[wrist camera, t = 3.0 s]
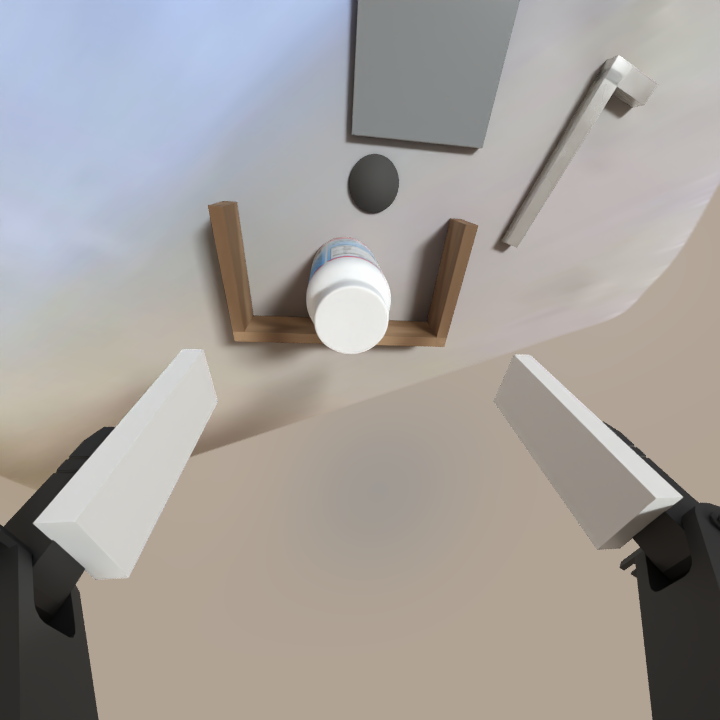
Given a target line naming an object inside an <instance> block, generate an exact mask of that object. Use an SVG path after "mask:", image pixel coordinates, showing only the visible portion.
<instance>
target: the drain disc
mask: <svg viewBox="0 0 720 720" xmlns="http://www.w3.org/2000/svg"><path fill="white" fill-rule="evenodd" d="M398 187H399V178H398V173H397V170H396V168H395V166H394V165H393V163H392V162H391V161H390V160H389V159H388V158H386V157H384V156H382V155H379V154H371V155H367V156H365V157H363V158H362V159H360V160H359V161H358V162H357V163H356V165H355V166H354V168H353V170H352V172H351V175H350V181H349V188H350V193H351V196H352V198H353V200H354V202H355V203H356V205H357V206H358V207H359V208H361V209H362V210H364V211H366V212H371V213H376V212H380V211H383V210H385V209H386V208H387V207H389V206H390V205H391V204H392V202H393V201H394V199H395V197H396V195H397V192H398Z"/></svg>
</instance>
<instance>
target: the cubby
mask: <svg viewBox="0 0 720 720" xmlns="http://www.w3.org/2000/svg"><path fill="white" fill-rule="evenodd" d="M208 209H209V214H210V219H211V224H212V229H213V234H214V239H215V244H216V249H217V254H218V259H219V265H220V270H221V275H222V280H223V285H224V290H225V295H226V300H227V305H228V310H229V315H230V320H231V325H232V331H233V336H234V341H243V342H281V343H319V344H324V343H323V342H322V341H321V340H320V338H319V337H318V335H317V333H316V330H315V326H314V323H313V322H312V320H311V318H310V317H282V316H254V315H253V309H252V302H251V295H250V288H249V281H248V275H247V268H246V261H245V254H244V247H243V240H242V233H241V227H240V220H239V213H238V206H237V202H230V201H222V202H219V203H215V204H211V205H208ZM477 228H478V225H475V224H473V223H470V222H467V221H465V220H462V219H451V218H450V223H449V227H448V231H447V236H446V240H445V245H444V249H443V253H442V258H441V262H440V266H439V271H438V275H437V280H436V284H435V288H434V293H433V297H432V301H431V306H430V310H429V314H428V319H427V322H421V321H393V320H389V321H388V327H387V330H386V332H385V334H384V336H383V337H382V339H381V340H380V341H379V342H378V343H377V344H376V345H395V346H433V347H444V346H445V342H446V338H447V335H448V331H449V328H450V324H451V321H452V317H453V314H454V310H455V306H456V303H457V299H458V296H459V292H460V289H461V285H462V282H463V278H464V275H465V271H466V267H467V264H468V260H469V257H470V253H471V250H472V246H473V243H474V239H475V235H476V232H477Z"/></svg>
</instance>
